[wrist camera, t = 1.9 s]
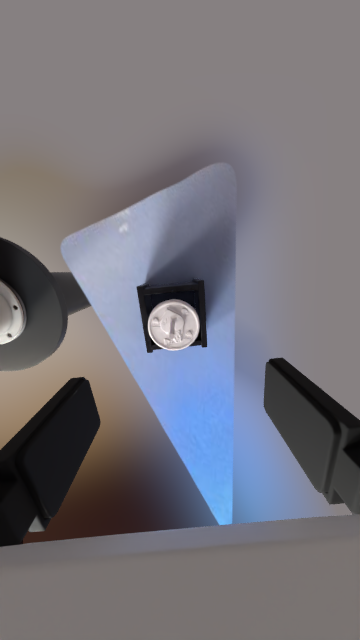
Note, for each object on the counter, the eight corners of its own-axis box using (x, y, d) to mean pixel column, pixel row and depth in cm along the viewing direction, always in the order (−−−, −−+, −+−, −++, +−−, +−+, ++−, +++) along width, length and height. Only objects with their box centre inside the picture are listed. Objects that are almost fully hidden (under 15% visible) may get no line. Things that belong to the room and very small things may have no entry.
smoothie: (185, 285, 28) (195, 299, 15) (196, 320, 30) (215, 359, 17) (150, 298, 29) (129, 321, 15) (163, 331, 30) (154, 378, 17)
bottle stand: (152, 337, 31) (147, 353, 25) (144, 283, 28) (136, 286, 22) (201, 333, 31) (207, 347, 25) (197, 278, 28) (203, 280, 22)
